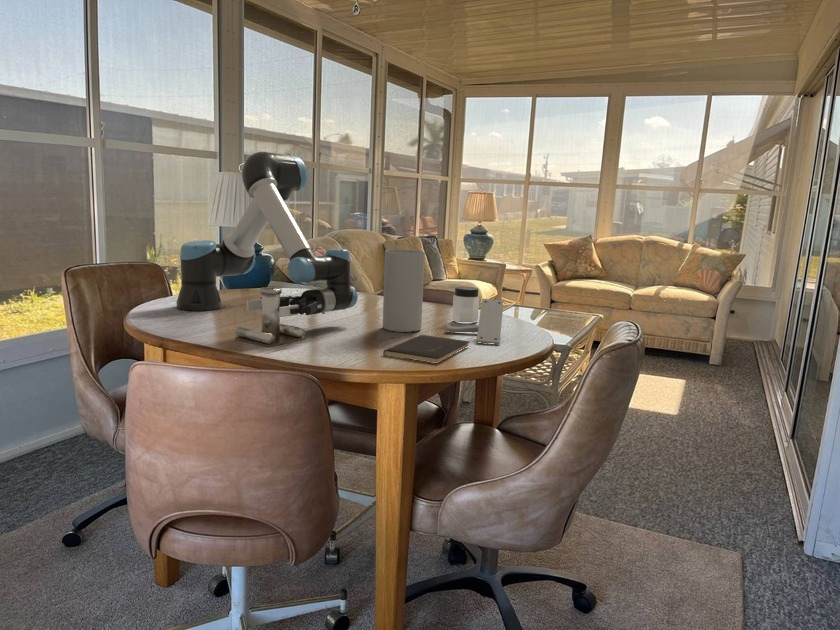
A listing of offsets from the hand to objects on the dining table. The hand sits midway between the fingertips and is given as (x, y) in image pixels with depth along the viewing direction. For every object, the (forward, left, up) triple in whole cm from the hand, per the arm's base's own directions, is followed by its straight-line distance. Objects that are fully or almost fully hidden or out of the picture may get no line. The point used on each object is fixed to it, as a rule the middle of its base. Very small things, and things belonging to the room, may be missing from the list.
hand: (263, 309), depth 177 cm
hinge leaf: (0, +3, -9) cm, 9 cm away
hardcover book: (+40, +24, -10) cm, 48 cm away
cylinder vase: (+17, +43, -9) cm, 47 cm away
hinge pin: (0, +3, -9) cm, 9 cm away
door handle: (+40, +49, -10) cm, 64 cm away
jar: (+25, +69, -9) cm, 74 cm away
